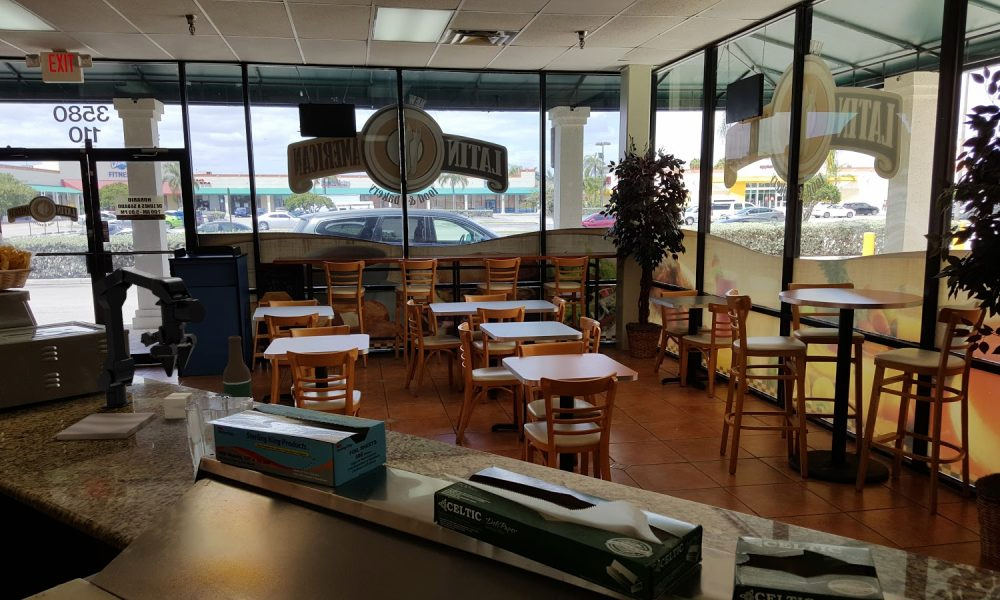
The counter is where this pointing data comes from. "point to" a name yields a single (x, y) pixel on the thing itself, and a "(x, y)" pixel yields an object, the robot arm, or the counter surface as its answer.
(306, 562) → the counter surface
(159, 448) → the counter surface
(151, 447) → the counter surface
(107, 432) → the wooden board
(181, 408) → the maple cube
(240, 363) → the beer bottle
